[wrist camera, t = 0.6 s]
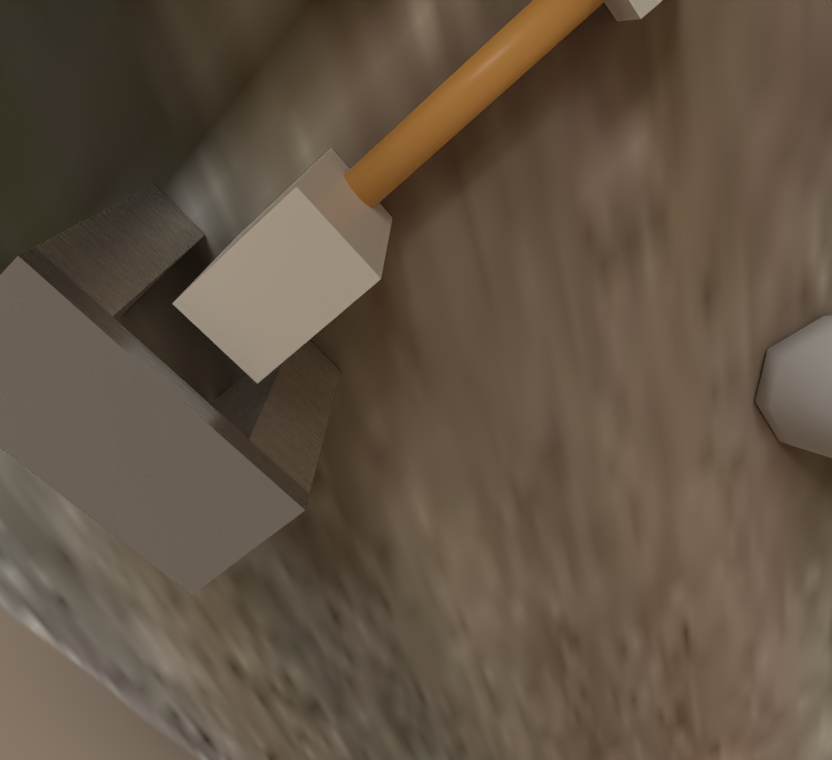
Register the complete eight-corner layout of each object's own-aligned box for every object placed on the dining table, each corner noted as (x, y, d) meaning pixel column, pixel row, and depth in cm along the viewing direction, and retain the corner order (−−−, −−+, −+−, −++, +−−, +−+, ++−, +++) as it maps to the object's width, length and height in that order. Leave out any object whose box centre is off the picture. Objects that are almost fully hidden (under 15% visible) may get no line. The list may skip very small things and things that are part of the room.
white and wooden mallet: (624, -131, 26) (714, -208, 18) (682, -36, 27) (790, -68, 19) (236, 236, 32) (171, 303, 24) (298, 300, 33) (257, 383, 25)
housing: (153, 183, 31) (18, 255, 21) (340, 371, 35) (305, 510, 25) (70, 269, 33) (-93, 375, 23) (257, 438, 37) (191, 595, 26)
